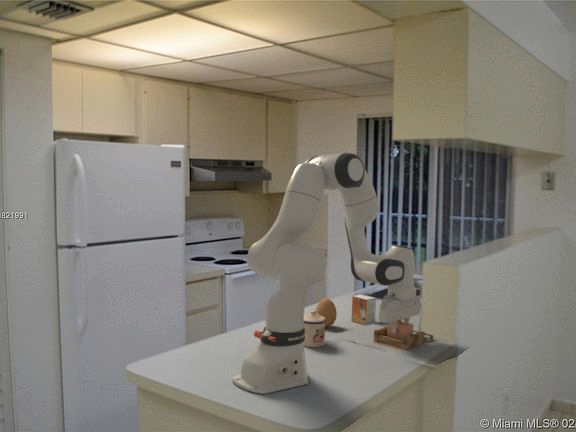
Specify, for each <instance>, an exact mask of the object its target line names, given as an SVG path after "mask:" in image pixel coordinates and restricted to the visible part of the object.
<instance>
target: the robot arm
mask: <svg viewBox="0 0 576 432" xmlns="http://www.w3.org/2000/svg"><path fill="white" fill-rule="evenodd" d="M291 174H292V175H291V177H290V179H289V182H288V184H287V187H286V189H285V193H284V196H283V200H282V202H281V205H280V206H281V207H280V209H279V212H278V215H277V218H276V220H275V221H274V223H273V225H272V226H271V227H270V229H269V230H268V231H267V232H266V234H265V235H264V236H263V237H262V238H260V239H259V240H258V241H255V242H254V243H253V244H252V245H251V246H250V247H249V249H248V252H247V257H246V258H247V259H246V260H247V261H246V262H247V265H248V268H249V270H250V271H251V272H252V273H255V274H257V275H259V276H261V277H264V278H269V279H274V280H280V285H279V288H278V291H277V292H275V293H274V294H272V295H270V296H269V297H268V298H267V300H266V303H265V325H264V327H263V330H262V331H260V330H258V329H257V330H255V331H254V332H253V336H254V338H256V339H257V338H258V339H260V341H259V342H258V343H257V345H255V347H254V348H253V349H252V350H251V351H250V352H249V353H248V354H247V355H246V356H245V357H244V358H243V360H242V363H241V367H240V368H241V369H240V373H238V374H236V375H233V376H232V383H233V384H234V385H236V386H237V387H239V388H241V389H243V390H246V391H248V392H252V393H256V394H263V395H264V394H269V393H273V392H274V393H275V392H278V391H283V390H287V389H291V388H296V387H300V386H304V385H309V379H308V377H309V373H308V370H307V364H306V354H305V353H306V352H305V346H304V343H303V342H304V340H305V328H304V327H303V325H304V315H305V308H306V307H305V305H306V300H307V297H308V295H309V292H310V291H311V289H312V288H313V286H314V285H315V284H316V283H318V282H320V280H322V278H323V277H324V275H325V274H326V271H327V258H326V255H325V253H324V251H322V250H321V249H319V248H317V247H315V246H312V245H309V244H304V243H298V242H299V240H300V239H301V238H302V237H303V236H305V235H306V234H308V233H310V232H312V231H313V230H314V229H315V227H316V224H317V219H318V217H319V212H320V210H321V209H320V208H321V205H322V201H323V198H324V191H325V190H329V191H335V190H338V191H339V193H340V198H341V201H342V204H343V205H342V206H343V208H344V212H345V218H344V225H345V226H344V227H345V232H346V236H347V237H346V238H347V241H348V247H349V253H350V271H351V274H352V276H353V278H354V279H356V280H358V281H360V282H365V283H366V282H367V283H371V284H373V285H374V284H375V285H378V286H382V287H383V286H385V287H386V286H387V294H385V295H384V296H383V298H382V299H381V302H380V304H379V310H378V311H379V312H378V320H379V322H380V323H383V324H386V325H387V324H388V323H390V326H391V328H392V330H391V332H392V333H398V328H397V326H396V324H397V321H398V320H402V322H406V323H410V320H411V319H410V318H411V317H416V316H418V315H420V312H421V307H422V304H421V303H422V298H421V296H422V291H423V290H422V289H421V288H417V287H416V286H415V281H414V275H415V272H416V271H415V269H416V268H415V267H416V266H415V254H414V250H413V249H412V248H411V247H409V246H402V245H398V244H397V245H396V244H393V245H391V247H390V249H389V250H387V251H386V252H385V253H383V254H381V255H378V254H374V253H372V252H371V251H370V250H369V248H368V242H367V237H366V233H365V229H366V226H369V225H370V224H371V223H373V222H374V221H375V220H376V218H377V217H378V215H379V213H380V205H379V201H378V197H377V193H376V190H375V187H374V184H373V182H372V180H371V178H370V176H369V174H368V172H367V170H366V169H365V165H364V163H363V161H362V159H361V158H360V156H358V155H357V154H355V153H353V152H343V153H327V154H322V155H318V156H313V157H310V158H308V159H307V160H306V161H304V162H302V163H299V164H298V165H297V166H296V167H295V169H294V170H293V173H291Z"/></svg>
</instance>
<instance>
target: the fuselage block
mask: <svg viewBox="0 0 576 432" xmlns="http://www.w3.org/2000/svg"><path fill="white" fill-rule="evenodd" d="M386 326H387V336H390V337H394V338H398V339H401V340H403V337H406V336H409V335H413V330H414V324H413V323H410V322H409V323H406V322H403V319H402V320H398V321H397V324H396V326H397V328H398V333H392V332H391V330H392V328H391V326H390V323H388V324H387V323H386Z"/></svg>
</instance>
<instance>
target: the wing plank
mask: <svg viewBox="0 0 576 432" xmlns="http://www.w3.org/2000/svg"><path fill="white" fill-rule="evenodd" d="M413 334H416V332H413ZM425 337H427V342H428V341H431V336H428V335H425ZM431 342H432V341H431ZM428 343H429V342H428Z"/></svg>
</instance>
